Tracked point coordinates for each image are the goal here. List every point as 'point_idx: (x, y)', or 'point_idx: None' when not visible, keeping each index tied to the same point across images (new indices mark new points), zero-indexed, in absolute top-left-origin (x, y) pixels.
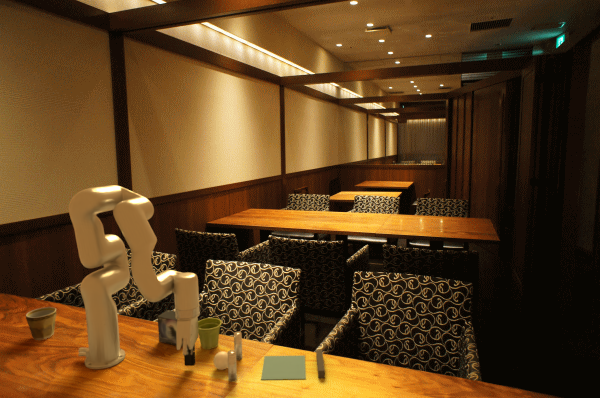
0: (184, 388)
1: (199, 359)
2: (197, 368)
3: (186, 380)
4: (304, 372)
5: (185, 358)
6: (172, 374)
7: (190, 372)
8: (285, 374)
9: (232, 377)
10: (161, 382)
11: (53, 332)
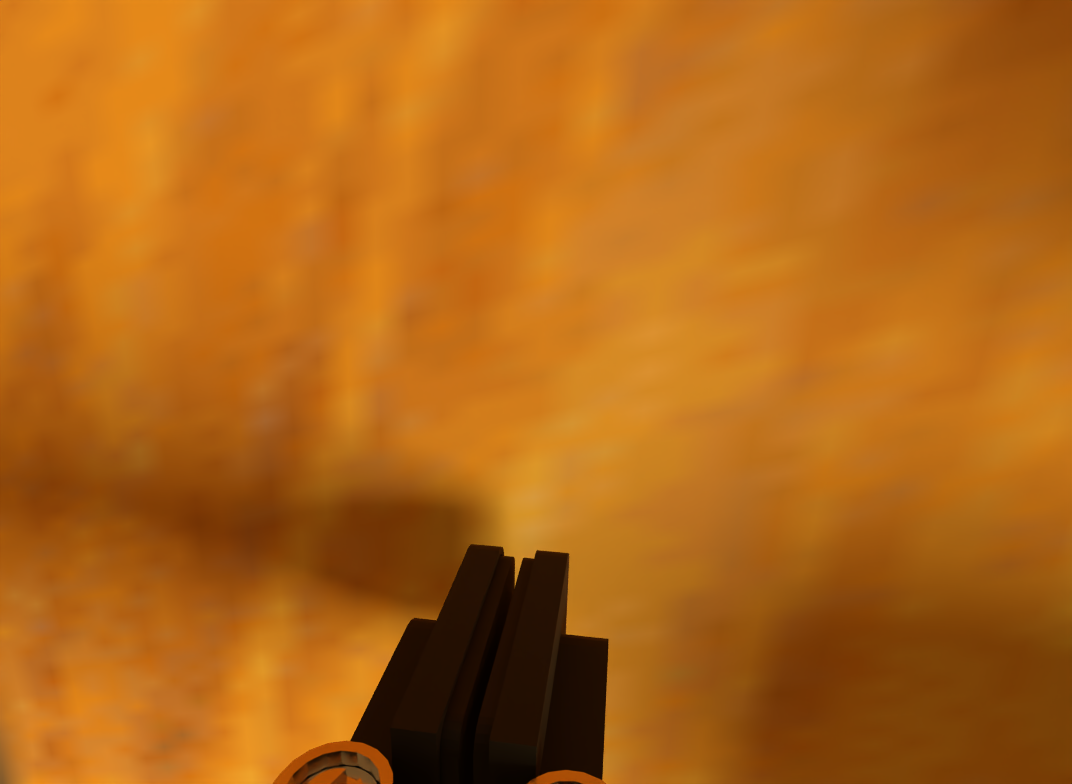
0: (38, 564)
1: (840, 672)
2: None
3: (216, 560)
4: None
5: (428, 665)
6: (363, 306)
7: (427, 585)
8: None
9: None
10: (112, 174)
11: None
